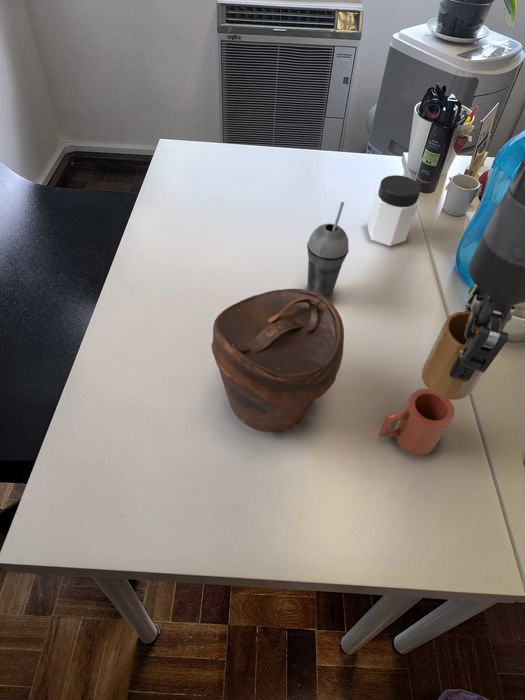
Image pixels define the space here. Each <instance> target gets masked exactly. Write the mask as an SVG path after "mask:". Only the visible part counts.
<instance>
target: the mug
mask: <svg viewBox="0 0 525 700" xmlns="http://www.w3.org/2000/svg"><path fill="white" fill-rule="evenodd" d="M454 418H455V407H454V405H453V403H452V400H450V399H445V398H442V397H440V396H438V395H436V394H434V393H433V392H432V391H430V390H429V389H428V388H419V389H417V390H414V391H413V392H412V393H411V394H410V396H409V398H408V399H407V402H406V403H405V406H404V408H403V410H402V411H401V412H395V413H388V414H386V415H385V417H384V420H383V421H382V424H381V426H380V428H379V431H378V433H377V434H378V437H379V438H388V437H389V438H390V437H394V439H395V442H396V443H397V445H398V446H399V447H400V448H401V449H402V450H403V451H406V452H407V453H409V454H412V455H416V456H417V455H419V456H422V455H427V454H429V453H431V451H433V450H434V449H435V448H436V446H437V444H438V442H439V441H440V440H441V438H442V437H443V435H444V434H445V432H446V430H447V429H448V427H449V426H450V425H451V423H452V421H453V419H454ZM395 421H396V424H395V425H394V428H391V429H390V426H391V425H392V422H395Z"/></svg>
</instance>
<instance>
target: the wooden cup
mask: <svg viewBox="0 0 525 700" xmlns="http://www.w3.org/2000/svg"><path fill="white" fill-rule="evenodd" d="M470 313H471V312H468V310H464V311H457V312H455V313H452V314H450V315H449V316H448V317H447V319H446V320H445V322H444V323H443V326H442V327H441V330H440V331H439V334H438V336H437V338H436V339H435V342H434V344H433V346H432V348H431V350H430V352H429V355H428V356H427V358H426V360H425V362H424V365H423V367H422V369H421V379H422V382H423V384H424V385H425V387H426V389H429V390H430V391H432V392H433V393H434V394H436V395H438V396H440V397H442V398H445V399H449V400H450V401H452V400H453V401H455V400H463V399H465V398H466V397H468V396H469V395H470V394H471V393H472V392H473V390H474V389H475V387H476V386H477V384H478V382H479V381H480V379H481V377H482V376H484V373H485V372H481V371H477V370H475V372H474V373H473V375H472V376H471V378H470V380H469V381H461V380H458V379H455V378H452V377H450V369H451V368H452V366H453V364H454V362H455V361H456V359H457V357H458V355H459V352H460V350H461V349H462V346H463V344H464V341H465V339H466V337H465V336H464V333H463V331H464V328H465V326H466V323H467V321H468V318H469V316H470ZM479 329H480V327H477V326H476V325H475V324H474V325H473V328H472V330H474V331H477V330H479Z"/></svg>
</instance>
